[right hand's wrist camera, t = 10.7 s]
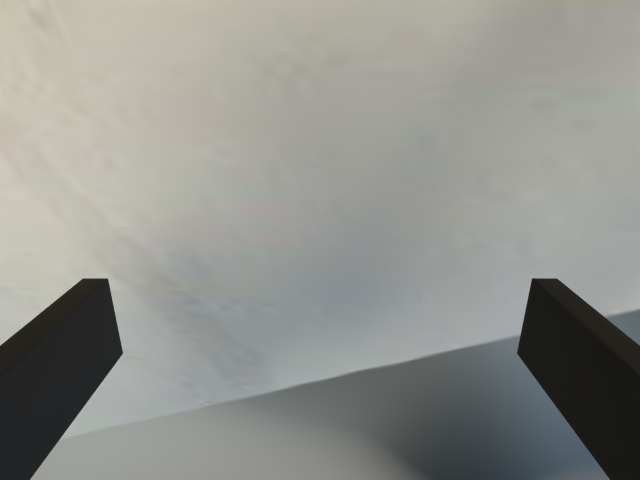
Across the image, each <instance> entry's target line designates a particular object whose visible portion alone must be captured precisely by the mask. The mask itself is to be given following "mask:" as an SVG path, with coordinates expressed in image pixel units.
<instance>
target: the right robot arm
mask: <svg viewBox="0 0 640 480" xmlns="http://www.w3.org/2000/svg"><path fill="white" fill-rule="evenodd" d="M122 354H123V351H122V346H121V341H120V336H119V331H118V326H117V321H116V317H115V312H114V307H113V302H112V297H111V292H110V287H109V282H108V279H82V280H81V281H80V282H78V283H77V284H76V285H75V286H73V287H72V288H71V289H70V290H68V291H67V292H66V293H65V294H64V295H62V296H61V297H60V298H59V299H57V300H56V301H55V302H54V303H52V304H51V305H50V306H49V307H48V308H46V309H45V310H44V311H43V312H41V313H40V314H39V315H38V316H36V317H35V318H34V319H33V320H32V321H30V322H29V323H28V324H27V325H25V326H24V327H23V328H22V329H20V330H19V331H18V332H17V333H16V334H14V335H13V336H12V337H11V338H9V339H8V340H7V341H6V342H4V343H3V344H2V345H1V346H0V480H30V479H31V477H32V476H33V475H34V473H35V472H36V471H37V469H38V468H39V467H40V465H41V464H42V462H43V461H44V460H45V458H46V457H47V456H48V454H49V453H50V452H51V450H52V449H53V447H54V446H55V445H56V443H57V442H58V441H59V439H60V438H61V437H62V435H63V434H64V433H65V431H66V430H67V429H68V427H69V426H70V424H71V423H72V422H73V420H74V419H75V418H76V416H77V415H78V414H79V412H80V411H81V410H82V408H83V407H84V405H85V404H86V403H87V401H88V400H89V399H90V397H91V396H92V395H93V393H94V392H95V391H96V389H97V388H98V387H99V385H100V384H101V382H102V381H103V380H104V378H105V377H106V376H107V374H108V373H109V372H110V370H111V369H112V368H113V366H114V365H115V363H116V362H117V361H118V359H119V358H120V357H121V355H122ZM517 354H518V355H519V357H520V358H521V359H522V361H523V362H524V363H525V365H526V366H527V368H528V369H529V370H530V372H531V373H532V374H533V376H534V377H535V378H536V380H537V381H538V382H539V384H540V385H541V386H542V388H543V389H544V391H545V392H546V393H547V395H548V396H549V397H550V399H551V400H552V401H553V403H554V404H555V405H556V407H557V408H558V410H559V411H560V412H561V414H562V415H563V416H564V418H565V419H566V420H567V422H568V423H569V424H570V426H571V427H572V429H573V430H574V431H575V433H576V434H577V435H578V437H579V438H580V439H581V441H582V442H583V443H584V445H585V446H586V448H587V449H588V450H589V452H590V453H591V454H592V456H593V457H594V458H595V460H596V461H597V462H598V464H599V465H600V466H601V468H602V469H603V471H604V472H605V473H606V475H607V476H608V477H609V479H610V480H640V346H639V345H638V344H637V343H635V342H634V341H633V340H632V339H631V338H629V337H628V336H627V335H626V334H624V333H623V332H622V331H621V330H620V329H618V328H617V327H616V326H615V325H613V324H612V323H611V322H610V321H608V320H607V319H606V318H605V317H604V316H602V315H601V314H600V313H599V312H597V311H596V310H595V309H594V308H592V307H591V306H590V305H589V304H588V303H586V302H585V301H584V300H583V299H581V298H580V297H579V296H578V295H576V294H575V293H574V292H573V291H572V290H570V289H569V288H568V287H567V286H565V285H564V284H563V283H562V282H560V281H559V280H558V279H532V282H531V287H530V292H529V297H528V302H527V307H526V312H525V317H524V321H523V326H522V331H521V336H520V341H519V346H518V351H517Z"/></svg>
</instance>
